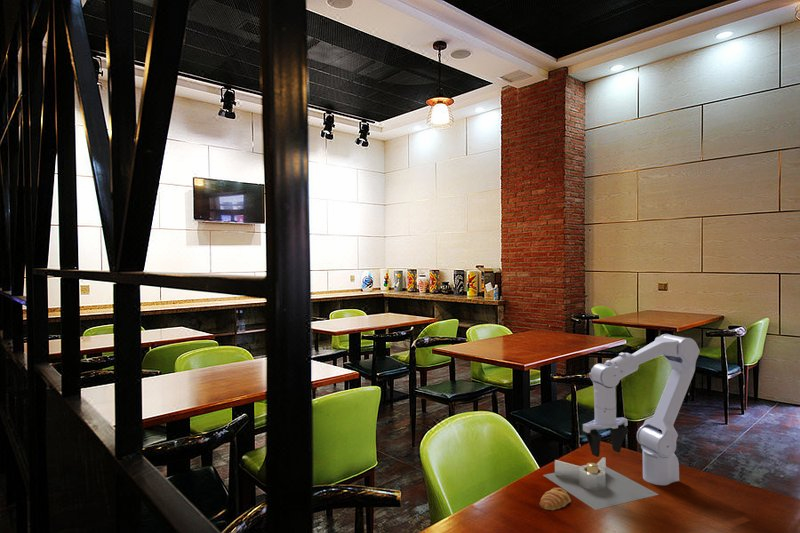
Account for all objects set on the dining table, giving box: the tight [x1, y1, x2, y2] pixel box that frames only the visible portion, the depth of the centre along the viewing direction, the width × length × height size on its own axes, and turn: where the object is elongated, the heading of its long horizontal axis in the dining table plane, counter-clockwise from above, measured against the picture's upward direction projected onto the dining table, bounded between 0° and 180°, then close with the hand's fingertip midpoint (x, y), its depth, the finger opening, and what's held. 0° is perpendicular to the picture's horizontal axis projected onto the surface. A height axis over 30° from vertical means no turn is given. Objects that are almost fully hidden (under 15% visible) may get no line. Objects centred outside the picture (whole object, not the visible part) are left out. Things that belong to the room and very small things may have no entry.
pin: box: [586, 462, 598, 474], centre depth 137 cm, size 3×3×6 cm
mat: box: [542, 466, 659, 511], centre depth 138 cm, size 22×22×1 cm
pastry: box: [539, 487, 572, 511], centre depth 128 cm, size 9×7×4 cm
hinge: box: [554, 457, 607, 492], centre depth 141 cm, size 16×13×4 cm
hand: (606, 453), depth 137 cm, fingers open, 7 cm apart
